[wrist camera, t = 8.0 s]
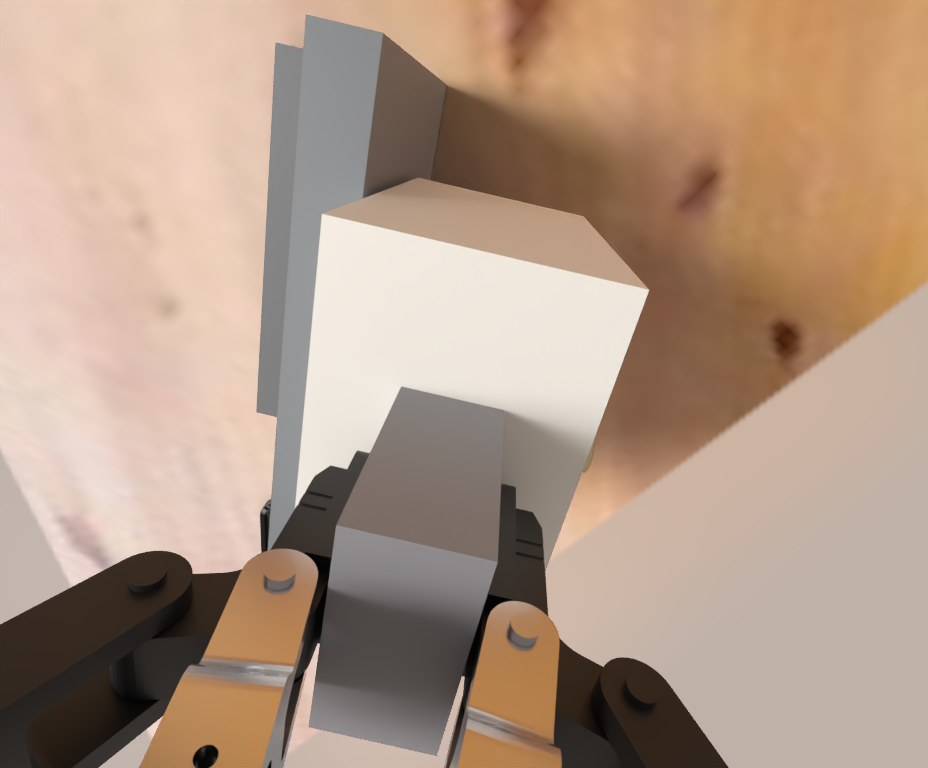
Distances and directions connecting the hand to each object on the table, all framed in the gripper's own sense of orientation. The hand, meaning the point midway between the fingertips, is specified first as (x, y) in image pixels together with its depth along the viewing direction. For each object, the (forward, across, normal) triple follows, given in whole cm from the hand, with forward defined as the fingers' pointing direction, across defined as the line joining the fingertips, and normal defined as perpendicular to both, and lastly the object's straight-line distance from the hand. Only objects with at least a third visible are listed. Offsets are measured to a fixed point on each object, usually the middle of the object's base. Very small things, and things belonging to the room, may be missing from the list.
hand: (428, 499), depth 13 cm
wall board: (+19, +5, 0) cm, 20 cm away
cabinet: (+13, 0, 0) cm, 13 cm away
